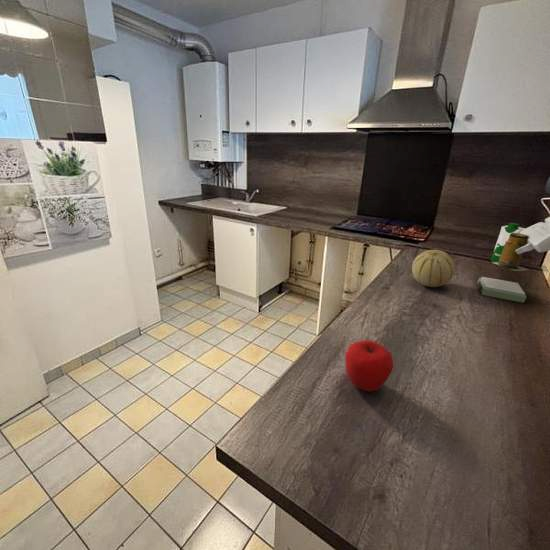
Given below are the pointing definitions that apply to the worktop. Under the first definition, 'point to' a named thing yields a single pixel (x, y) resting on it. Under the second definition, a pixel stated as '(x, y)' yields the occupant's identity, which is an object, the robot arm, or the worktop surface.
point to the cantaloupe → (433, 268)
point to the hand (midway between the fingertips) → (513, 249)
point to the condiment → (512, 252)
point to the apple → (368, 365)
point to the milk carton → (504, 239)
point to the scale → (501, 289)
